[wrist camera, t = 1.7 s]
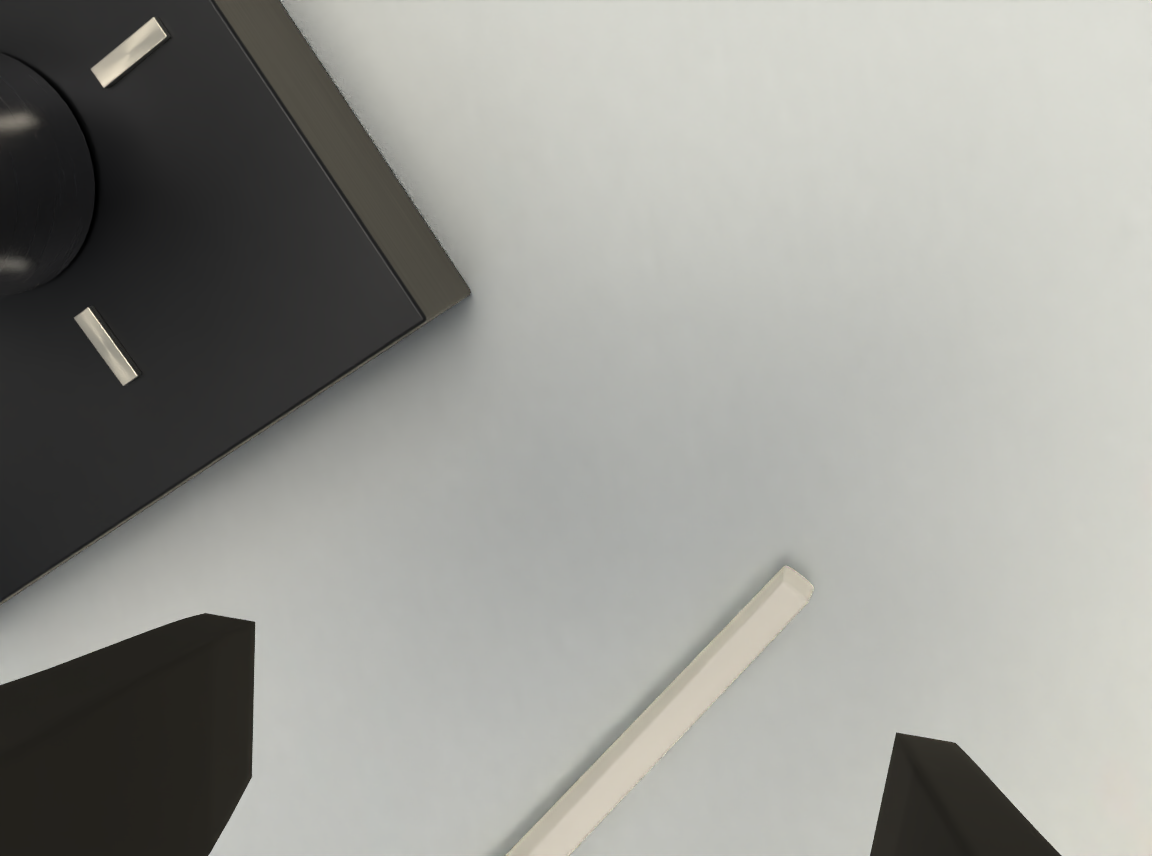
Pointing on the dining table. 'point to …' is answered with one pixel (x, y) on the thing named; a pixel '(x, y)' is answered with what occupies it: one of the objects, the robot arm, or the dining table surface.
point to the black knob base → (192, 262)
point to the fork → (667, 718)
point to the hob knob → (39, 180)
